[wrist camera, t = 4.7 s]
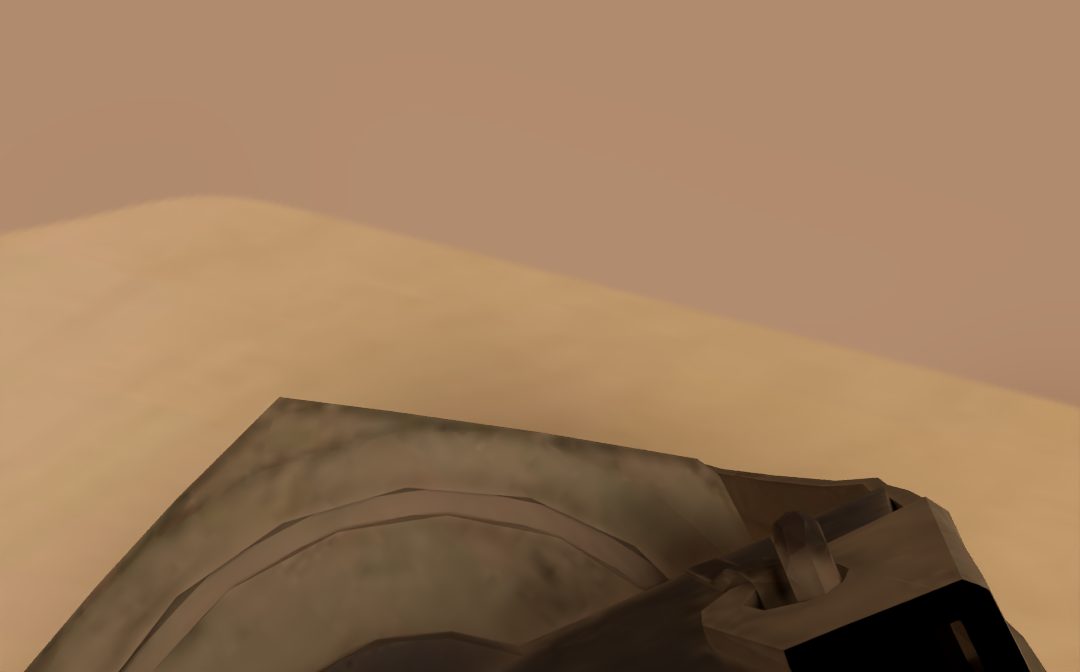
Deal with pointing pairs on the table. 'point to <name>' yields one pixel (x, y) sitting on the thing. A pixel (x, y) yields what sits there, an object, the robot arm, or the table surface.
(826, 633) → the grenade model
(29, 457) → the table surface
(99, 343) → the table surface
